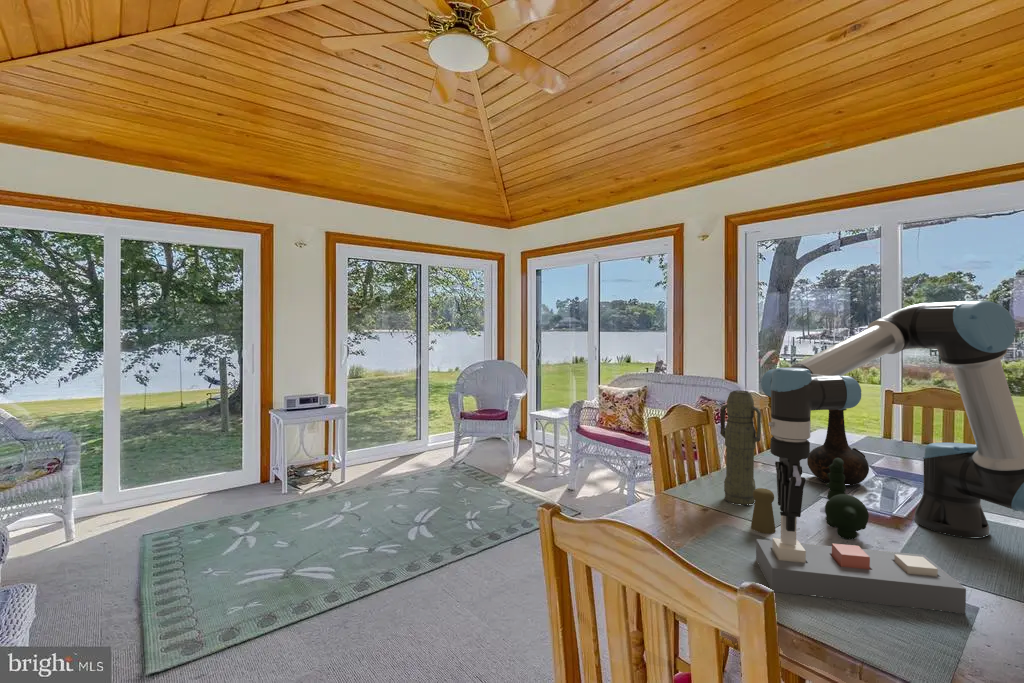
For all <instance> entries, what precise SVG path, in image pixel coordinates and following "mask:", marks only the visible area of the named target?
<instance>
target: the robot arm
mask: <svg viewBox="0 0 1024 683" xmlns="http://www.w3.org/2000/svg"><path fill="white" fill-rule="evenodd" d="M1014 320H1015V319H1014V318H1013V316H1012V314H1011V313H1010V312H1009V311H1008V310H1007V309H1006V308H1005V307H1004V306H1003V305H1001V304H998V303H996V302H994V301H990V300H974V299H971V300H961V301H960V300H958V301H941V302H940V301H939V302H920V303H915V304H911V305H909V306H905V307H903V308H899V309H898V310H895V311H892V312H890V313H888V314H886V315H884V316H882V317H879V318H878V319H876V320H874V321H873V320H872V321H871V322H870V323H869V324H868V326H867V328H866V329H864V330H862V331H860V332H858V333H856V334H854V335H852V336H850V337H848V338H846V339H844V340H842V341H840V342H837V343H836V344H833V345H832V346H829V347H828V348H825V349H824V350H822V351H821V350H820V351H819V352H817V353H816V354H813V355H811V356H809V357H807V358H805V359H803V360H801V361H799V362H796V363H795V364H793V365H790V366H789V367H776V368H771V369H769V370H767V371H765V372H764V374H763V375H762V377H761V381H760V386H761V389H762V392H763V393H764V394H765V395H766V396H767V397H770V411H771V412H770V416H771V418H770V419H771V421H770V422H768V426H769V427H770V434H771V435H772V437H771V438H770V449H769V450H770V451H769V452H770V453H771V455H773V456H775V457H777V458H778V460H779V461H777V460H775V463H774V466H775V471H776V488H777V505H778V506H780V507H779V510H780V511H779V514H780V539H781V542H782V544H789V545H796V540H797V521H798V520H797V519H798V518H801V515H802V505H803V497H804V496H803V494H804V487H805V484H806V480H807V479H806V477H805V476H804V477H803V476H802V475H803V466H801V461H802V460H806V459H807V458H808V457H809V456H810V452H811V451H810V450H811V449H810V448H811V446H810V445H811V442H810V441H809V439H810V438H811V413H812V411H829V410H837V409H838V410H842V409H853V408H854V407H856V406H858V405H859V404H860V402H861V400H862V388H861V385H860V384H859V381H858V380H856V379H855V378H854V377H852V376H849V375H846V374H848V373H851V372H853V371H854V370H856V369H858V368H860V367H862V366H864V365H866V364H868V363H870V362H872V361H874V360H877V359H878V358H880V357H883V356H884V355H887V354H888V355H895V354H897V353H900V352H902V351H906V350H909V349H910V350H911V349H929V350H932V349H933V350H937V351H938V355H939V357H940V360H941V363H944V364H945V365H947V366H949V367H951V369H952V372H953V375H954V378H955V381H956V385H957V388H958V391H959V394H960V398H961V401H962V403H963V407H964V411H965V413H966V416H967V419H968V423H969V427H970V429H971V433H972V435H973V439H974V441H975V442H974V443H975V444H974V443H973V444H972V443H964V442H932V443H929V444H927V445H925V447H924V452H923V453H924V455H923V488H922V489H923V490H922V495H921V496H922V497H921V498H920V500H919V503H918V505H917V506H916V509H915V510H914V521H915V522H916V523H917V524H918V525H919V524H920V526H921V525H922V526H921V527H923V526H924V527H923V528H925V527H926V529H928V528H929V529H928V530H930V529H932V530H931V531H933V530H935V531H934V532H936V531H937V532H936V533H939V532H941V533H940V534H943V533H946V534H945V535H947V534H950V535H949V536H951V535H955V536H954V537H957V536H962V537H961V538H963V537H983V536H986V535H988V534H989V535H990V526H989V522H988V520H987V517H986V515H985V512H984V510H983V507H982V505H981V504H982V503H981V500H982V501H985V502H988V503H991V504H994V505H998V506H1000V507H1004V508H1006V509H1007V508H1008V509H1009V510H1010V509H1011V510H1013V511H1014V512H1022V513H1024V433H1023V430H1022V426H1021V424H1020V421H1019V416H1018V413H1017V411H1016V407H1015V404H1014V400H1013V397H1012V394H1011V390H1010V388H1009V384H1008V382H1007V381H1008V380H1007V378H1006V374H1005V371H1004V369H1003V368H1004V367H1003V365H1002V362H1001V359H1003V358H1004V357H1005V356H1006V354H1007V353H1008V351H1007V349H1009V348H1010V346H1012V345H1013V343H1014V340H1015V339H1016V336H1015V334H1016V332H1017V331H1016V330H1017V329H1016V328H1017V327H1016V323H1015V321H1014Z"/></svg>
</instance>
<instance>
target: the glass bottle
mask: <svg viewBox="0 0 1024 683" xmlns="http://www.w3.org/2000/svg"><path fill="white" fill-rule="evenodd" d="M845 411H847V409H842V410H838V409H837V410H828V418H827V421H828V422H827V431H826V436H825V440H824V443H823V444H822V445H819V446H817V447H814V448H813V449H812V450H811V451H810V456H809V457H808V458H807V465H808V468H809V470H810V471H811V474H813V475H814V476H815V477H816V478H817V480H818V479H819V480H820V481H822V482H823V483H826V484H827V483H829V482H830V479H829V478H828V477H827V474H828V473H830V472H831V471H830V469H829V467H828V466H829V465H831V464H833V460H834V459H835V458H841V459H842V460H843V461H844V464H843V468H844V472H843V474H844V476H845V481H844V482H843V483H844V484H850V485H851V486H855V484H856V485H858V484H861V482H863V481H864V480H865V479H866V478H867V476H868V475H869V472H870V465H869V462H868V460H867V458H866V455H865V454H864V453H863V452H862V451H860V450H859V449H857V448H855V447H852V448H851V447H850V445H849V442H848V440H847V439H848V438H847V434H846V429H845V428H846V427H845V426H846V425H845V415H844V414H845Z"/></svg>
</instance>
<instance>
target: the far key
mask: <svg viewBox="0 0 1024 683" xmlns="http://www.w3.org/2000/svg"><path fill="white" fill-rule="evenodd" d="M772 541H773V542H772V552H773V553H774V555H775V557H776V558H777V560H781V561H791V562H800V563H806V551H805V549H804V548H803V546H802V545H801V544H800V543H801V542H800V541H799V540H798V539H796V545H789V544H782V542H781V538H776V537H772Z"/></svg>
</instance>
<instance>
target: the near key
mask: <svg viewBox="0 0 1024 683" xmlns="http://www.w3.org/2000/svg"><path fill="white" fill-rule="evenodd" d="M894 562H895V563H896V564H897V565H898V566H899V567H900V568H901V569H902V570H903V571H904V572H905V573H908V574H917V575H927V576H937V575H938V569H937V568H936V567H935V566H933V565H932V564H931V563H930V562H929V561H927V560H926V559H925V558H924V557H919V556H909V555H898V554H895V556H894Z"/></svg>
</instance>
